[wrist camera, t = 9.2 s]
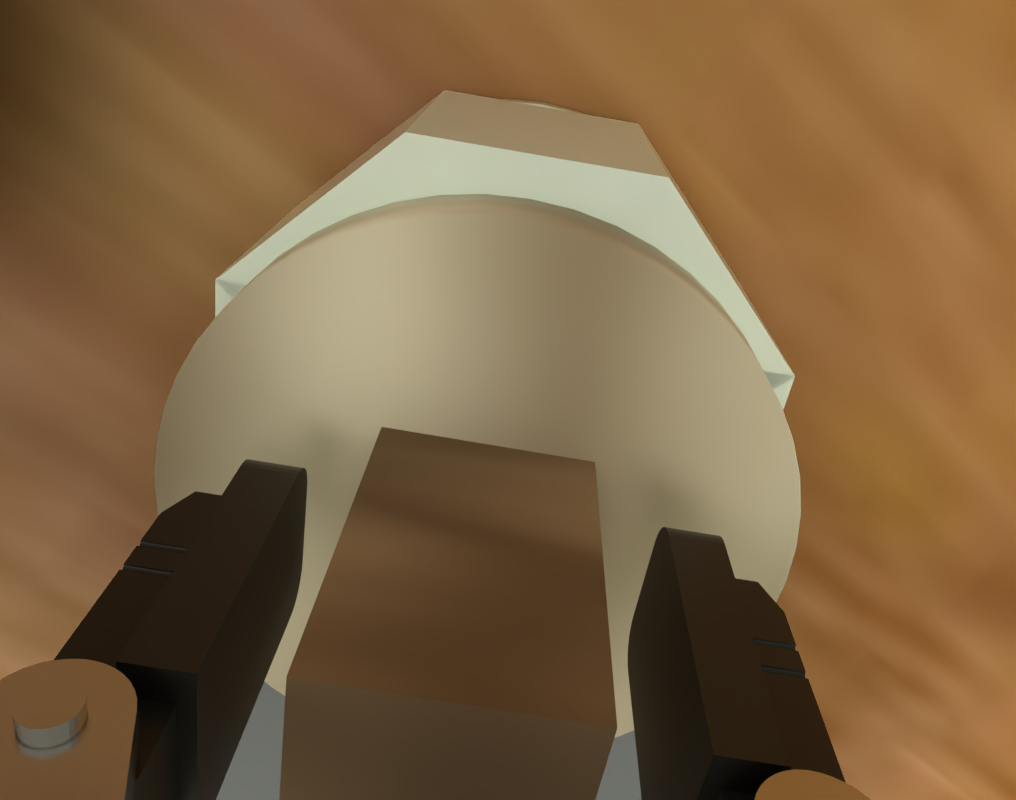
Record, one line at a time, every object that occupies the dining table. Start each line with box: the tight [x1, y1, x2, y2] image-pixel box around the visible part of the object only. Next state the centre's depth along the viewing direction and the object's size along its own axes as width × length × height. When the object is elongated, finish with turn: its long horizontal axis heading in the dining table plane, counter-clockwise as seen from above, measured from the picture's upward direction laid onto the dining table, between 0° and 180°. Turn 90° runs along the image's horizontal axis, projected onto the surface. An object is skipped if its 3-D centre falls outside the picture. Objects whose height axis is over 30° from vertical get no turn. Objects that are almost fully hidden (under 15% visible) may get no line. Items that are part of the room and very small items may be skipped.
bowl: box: [215, 90, 795, 410], centre depth 16 cm, size 9×9×6 cm
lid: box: [154, 194, 801, 800], centre depth 12 cm, size 10×10×6 cm
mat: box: [217, 681, 641, 800], centre depth 25 cm, size 12×12×1 cm
